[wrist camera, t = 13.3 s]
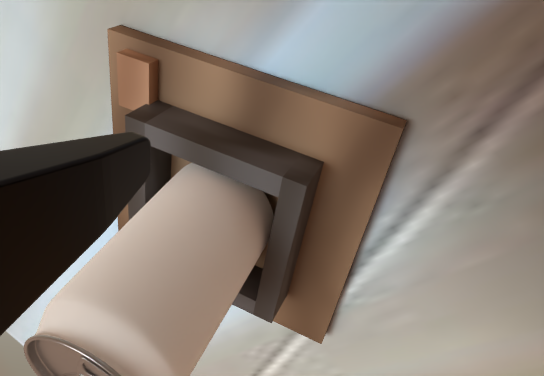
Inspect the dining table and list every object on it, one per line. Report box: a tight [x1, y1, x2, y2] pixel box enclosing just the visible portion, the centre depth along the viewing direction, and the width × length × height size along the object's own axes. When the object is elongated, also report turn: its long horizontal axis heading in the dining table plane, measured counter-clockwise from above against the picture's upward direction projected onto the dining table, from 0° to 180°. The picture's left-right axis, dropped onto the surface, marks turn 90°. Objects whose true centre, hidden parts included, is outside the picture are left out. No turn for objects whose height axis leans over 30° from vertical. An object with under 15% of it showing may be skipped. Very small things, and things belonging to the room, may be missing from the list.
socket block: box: [108, 25, 407, 344], centre depth 26 cm, size 16×16×4 cm
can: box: [24, 163, 274, 376], centre depth 22 cm, size 6×6×12 cm
